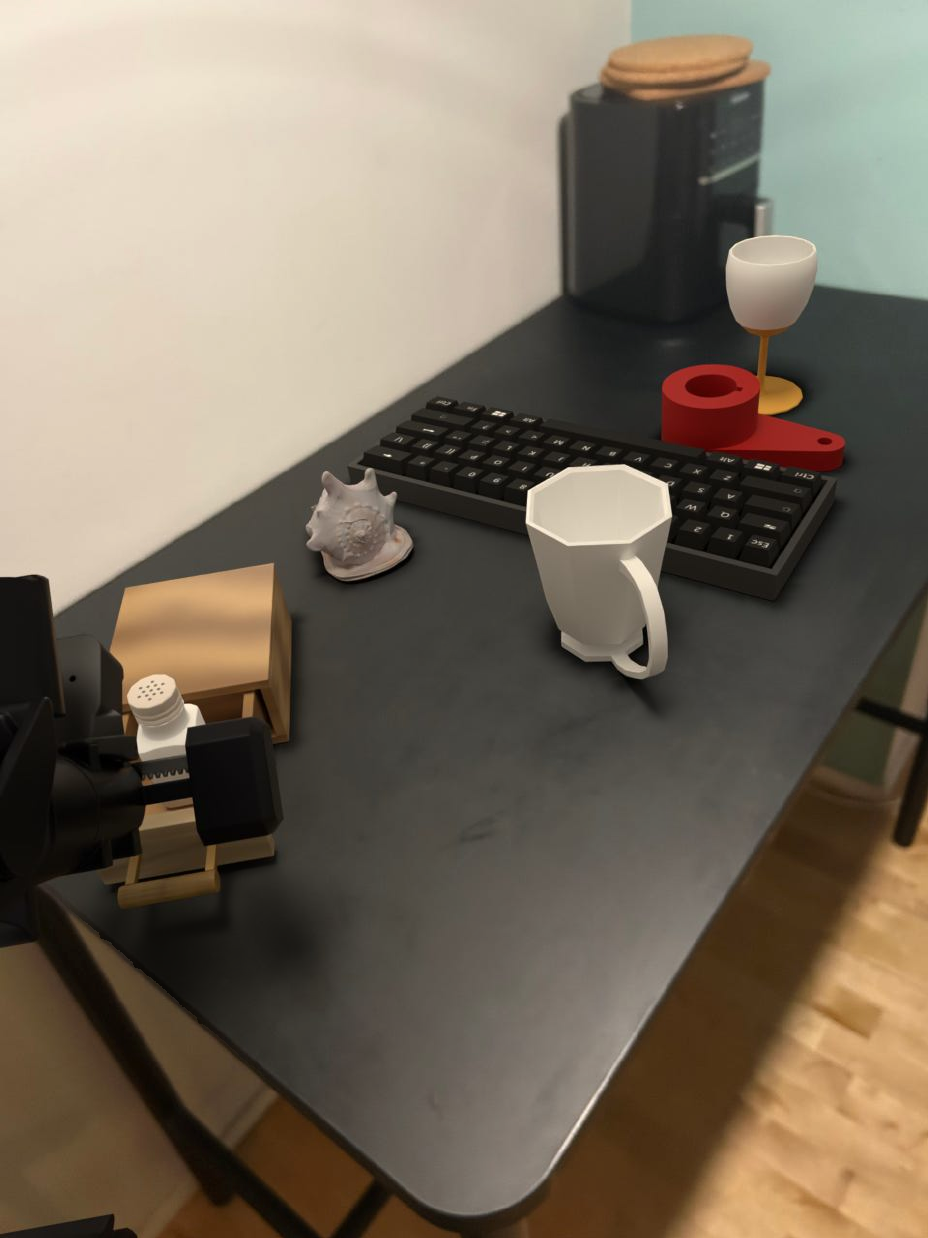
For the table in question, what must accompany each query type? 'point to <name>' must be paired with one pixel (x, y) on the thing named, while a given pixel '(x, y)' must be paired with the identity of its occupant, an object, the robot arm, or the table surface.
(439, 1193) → the table surface
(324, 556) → the seashell
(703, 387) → the lever
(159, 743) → the pepper shaker
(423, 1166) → the table surface
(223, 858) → the drawer
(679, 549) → the computer keyboard
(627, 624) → the cup
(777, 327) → the cup
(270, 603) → the cabinet
